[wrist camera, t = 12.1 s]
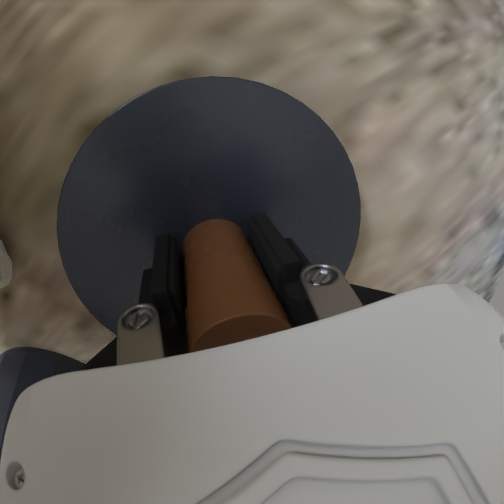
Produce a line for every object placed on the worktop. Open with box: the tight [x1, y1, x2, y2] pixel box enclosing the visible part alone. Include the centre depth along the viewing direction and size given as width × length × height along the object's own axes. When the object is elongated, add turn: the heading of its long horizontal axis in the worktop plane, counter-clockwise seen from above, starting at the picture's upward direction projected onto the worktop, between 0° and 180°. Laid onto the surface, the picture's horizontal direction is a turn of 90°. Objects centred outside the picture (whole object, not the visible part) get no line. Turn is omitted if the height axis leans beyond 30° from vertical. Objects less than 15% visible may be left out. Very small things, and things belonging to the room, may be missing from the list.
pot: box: [0, 347, 85, 461], centre depth 14 cm, size 14×19×10 cm
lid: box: [57, 76, 360, 353], centre depth 10 cm, size 15×15×7 cm
